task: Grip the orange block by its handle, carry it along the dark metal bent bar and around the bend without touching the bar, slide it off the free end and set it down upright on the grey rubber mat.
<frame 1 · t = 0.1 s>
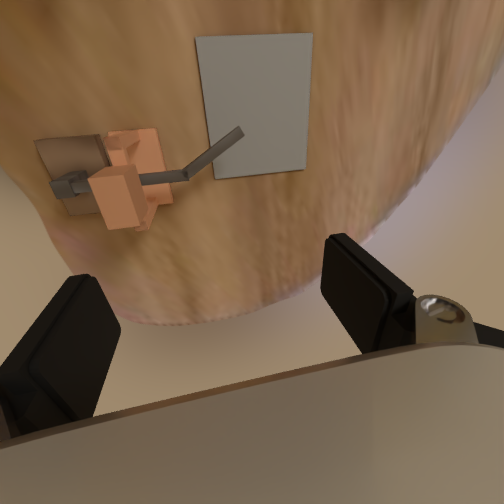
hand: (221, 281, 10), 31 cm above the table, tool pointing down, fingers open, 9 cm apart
mat: (258, 113, 35), on the table
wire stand: (86, 175, 35), on the table
orange block: (144, 169, 36), on the table
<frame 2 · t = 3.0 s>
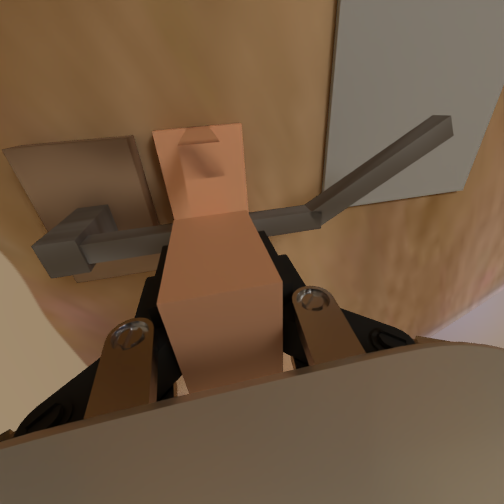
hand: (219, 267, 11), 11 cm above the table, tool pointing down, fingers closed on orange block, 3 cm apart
mat: (417, 95, 19), on the table
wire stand: (107, 209, 19), on the table
orange block: (209, 196, 20), on the table, touching gripper
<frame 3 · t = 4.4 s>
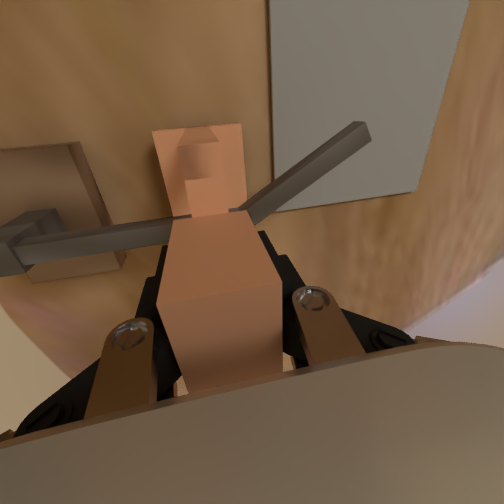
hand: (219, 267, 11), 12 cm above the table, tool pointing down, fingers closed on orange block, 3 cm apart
mat: (359, 100, 20), on the table
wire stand: (60, 212, 20), on the table
orange block: (209, 196, 20), point 1 cm above the table, touching gripper
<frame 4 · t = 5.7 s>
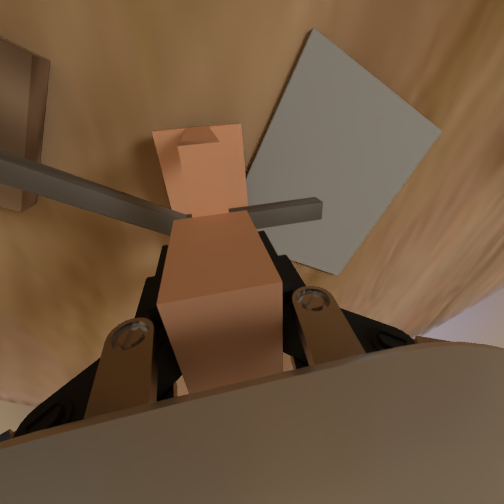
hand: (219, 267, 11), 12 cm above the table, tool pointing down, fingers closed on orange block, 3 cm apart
mat: (327, 183, 23), on the table
orange block: (209, 196, 20), point 1 cm above the table, touching gripper
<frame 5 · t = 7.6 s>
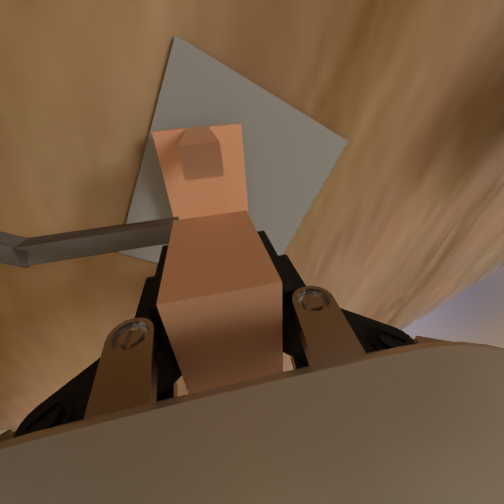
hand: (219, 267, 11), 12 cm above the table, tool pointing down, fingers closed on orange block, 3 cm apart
mat: (230, 196, 22), on the table
orange block: (209, 196, 20), point 1 cm above the table, touching gripper
when the fingers open (11 cm above the table, at t = 8.8 s): orange block stays where it is, resting on mat.
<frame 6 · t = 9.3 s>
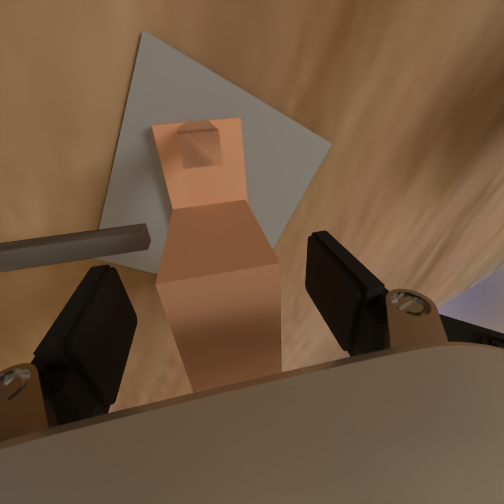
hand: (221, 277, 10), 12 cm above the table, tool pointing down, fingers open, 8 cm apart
mat: (209, 200, 21), on the table
orange block: (208, 191, 20), resting on mat
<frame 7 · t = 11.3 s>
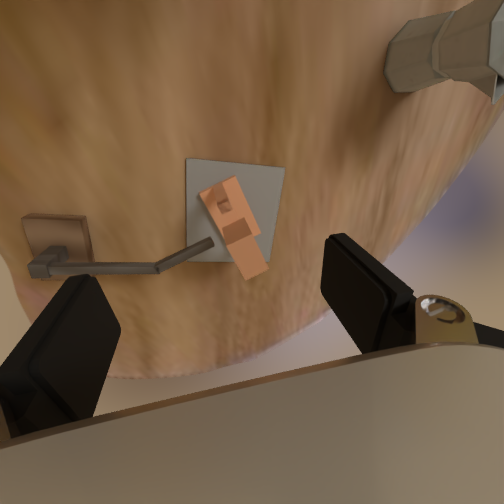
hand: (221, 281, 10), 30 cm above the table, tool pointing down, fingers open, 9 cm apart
mat: (233, 216, 40), on the table
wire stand: (66, 245, 37), on the table
coffee maker: (412, 49, 34), on the table
orange block: (231, 212, 40), resting on mat
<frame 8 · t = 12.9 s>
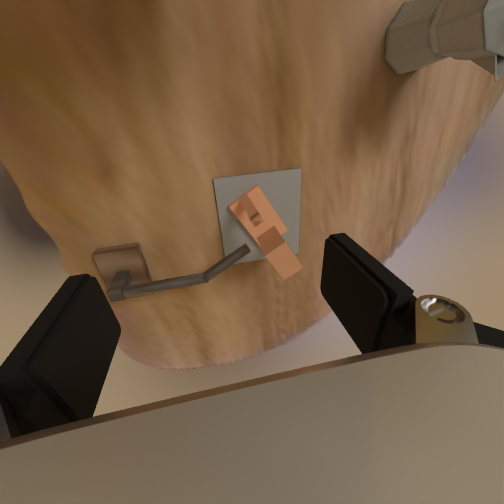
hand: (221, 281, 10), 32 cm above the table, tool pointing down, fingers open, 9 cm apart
mat: (260, 219, 45), on the table
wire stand: (127, 269, 45), on the table
coffee maker: (410, 28, 35), on the table
orange block: (258, 216, 44), resting on mat
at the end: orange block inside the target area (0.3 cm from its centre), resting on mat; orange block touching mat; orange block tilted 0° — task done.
